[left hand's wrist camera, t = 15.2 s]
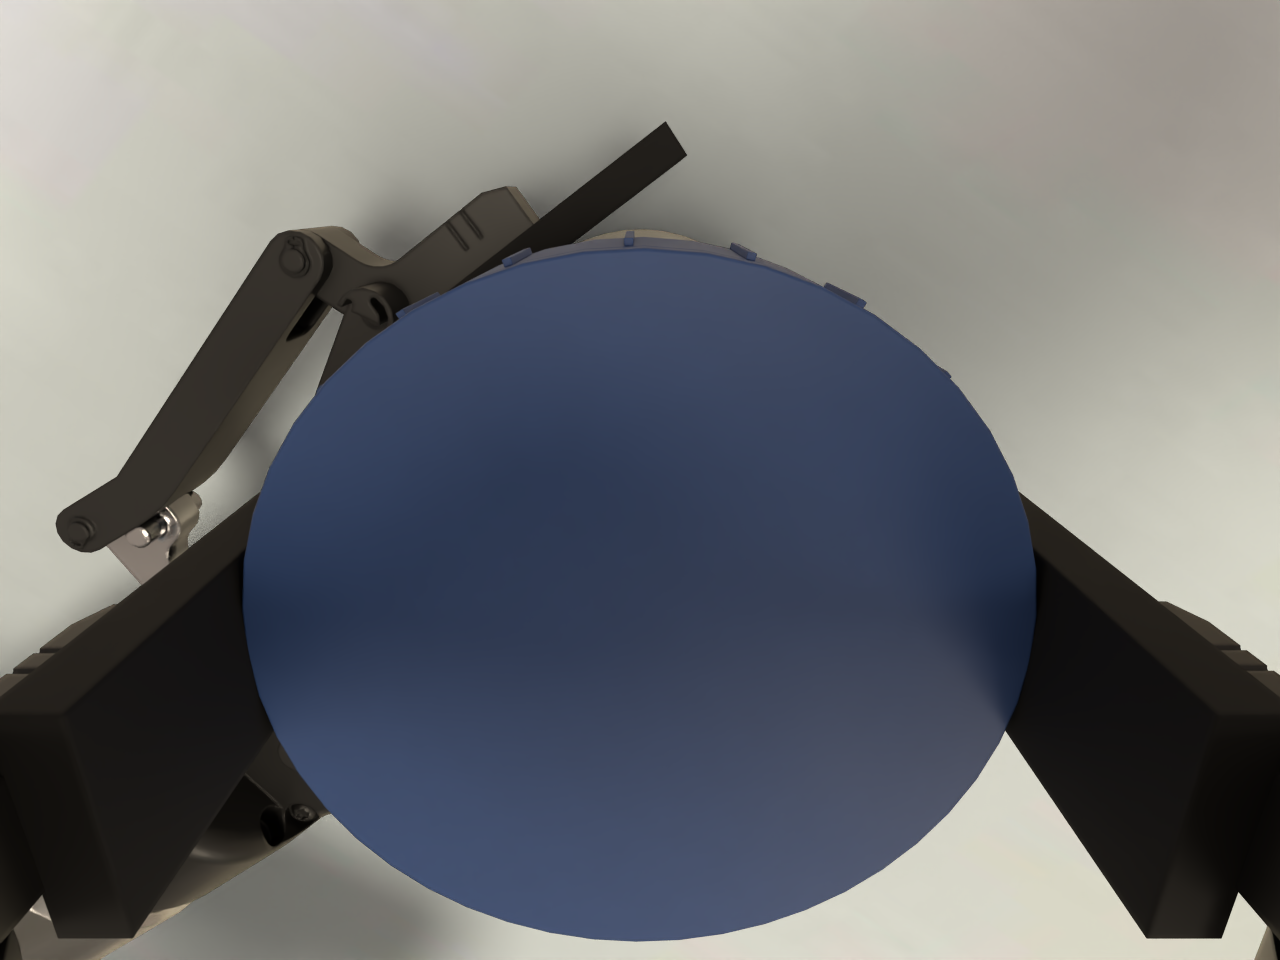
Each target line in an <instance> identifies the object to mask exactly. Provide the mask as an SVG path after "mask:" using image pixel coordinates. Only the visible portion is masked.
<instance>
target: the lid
mask: <svg viewBox="0 0 1280 960" xmlns="http://www.w3.org/2000/svg"><path fill="white" fill-rule="evenodd" d="M756 256H757V254H756V253H754V252H753V251H751V250H749V249H747V248H745V247H743V246H741V245H739V244H736V243H731V247H730V249H728V248H724V247H719V246H715V245H710V244H706V243H701V242H697V241H690V240H678V239H665V238H653V237H635V233H634V231H626V234H625V237H624V238H614V239H596V240H590V241H585V242H579V243H574V244H569V245H564V246H559V247H554V248H549V249H545V250H542V251H539V252H536V253H533V254H532V251H531V248H527V249H523V250H521V251H519V252H517V253H515V254H513V255H511V256H509V257H507V258H505V259H503V260H502V262H503V264H501V265H499V266H497V267H495V268H493V269H491V270H489V271H487V272H485V273H483V274H481V275H479V276H477V277H475V278H473V279H471V280H469V281H467V282H465V283H464V284H462V285H460V286H458V287H456V288H454V289H452V290H450V291H448V292H446V293H444V294H442V295H440V294H439V293H438V292H436V293H434V294H432V295H430V296H428V297H426V298H424V299H422V300H420V301H418V302H416V303H414V304H412V305H410V306H408V307H406V308H404V309H402V310H400V311H399V312H397V313H396V315H397V317H398V318H399V320H397V321H396V322H394V323H393V324H392V325H390V326H389V327H387V328H386V329H384V330H383V331H382V332H380V333H379V334H377V335H376V336H375V337H373V338H372V339H370V340H369V341H368V342H366V343H365V344H364V345H363V346H362V347H361V348H360V349H359V350H358V351H357V352H356V353H355V354H354V355H353V356H352V357H350V358H349V359H348V360H347V361H346V362H345V363H344V364H343V365H342V366H341V367H340V368H339V369H338V370H337V371H336V372H335V373H334V374H333V375H332V376H331V377H330V378H329V379H328V380H327V381H326V382H325V383H324V384H322V385H321V386H320V387H319V388H318V389H317V391H316V392H317V393H316V395H315V396H314V397H313V399H312V400H311V401H310V403H309V404H308V405H307V406H306V408H305V409H304V410H303V412H302V413H301V414H300V416H299V417H298V418H297V419H296V421H295V422H294V424H293V425H292V427H291V429H290V431H289V433H288V435H287V436H286V438H285V440H284V442H283V444H282V445H281V447H280V449H279V451H278V453H277V455H276V456H275V458H274V460H273V462H272V464H271V466H270V467H269V470H268V473H267V476H266V478H265V481H264V484H263V487H262V490H261V492H260V495H259V498H258V501H257V504H256V506H255V509H254V512H253V515H252V521H251V526H250V531H249V536H248V542H247V547H246V552H245V557H244V569H243V599H242V611H243V619H244V628H245V635H246V640H247V646H248V651H249V656H250V661H251V665H252V670H253V674H254V679H255V683H256V686H257V690H258V694H259V697H260V699H261V702H262V704H263V706H264V709H265V711H266V713H267V716H268V718H269V720H270V723H271V725H272V727H273V729H274V732H275V734H276V736H277V738H278V740H279V741H280V743H281V745H282V746H283V748H284V750H285V751H286V753H287V755H288V756H289V758H290V760H291V761H292V763H293V765H294V766H295V768H296V770H297V771H298V773H299V775H300V776H301V777H302V778H303V780H304V781H305V782H306V783H307V785H308V786H309V787H310V789H311V790H312V791H313V792H314V794H315V795H316V796H317V797H318V799H319V800H320V801H321V802H322V804H323V805H324V806H325V808H326V809H327V810H328V811H329V812H330V813H331V814H332V815H333V816H334V817H335V818H336V819H337V820H338V821H339V822H340V823H341V824H342V825H343V826H344V827H346V828H347V829H348V830H349V831H350V832H351V833H352V834H353V835H354V836H355V837H356V838H357V839H358V840H359V841H360V842H362V843H363V844H364V845H365V846H367V847H368V848H369V849H371V850H372V851H373V852H374V853H376V854H377V855H378V856H379V857H381V858H382V859H383V860H385V861H386V862H387V863H388V864H390V865H391V866H393V867H394V868H396V869H397V870H399V871H401V872H402V873H404V874H406V875H407V876H409V877H410V878H412V879H414V880H415V881H417V882H418V883H420V884H422V885H423V886H425V887H426V888H428V889H430V890H432V891H434V892H436V893H439V894H441V895H443V896H445V897H447V898H449V899H451V900H453V901H455V902H457V903H459V904H461V905H463V906H465V907H468V908H471V909H473V910H476V911H479V912H482V913H484V914H487V915H490V916H493V917H495V918H498V919H501V920H504V921H506V922H510V923H514V924H518V925H522V926H526V927H530V928H534V929H538V930H542V931H545V932H549V933H556V934H562V935H569V936H575V937H582V938H589V939H599V940H617V941H635V942H637V941H662V940H682V939H689V938H696V937H704V936H711V935H718V934H724V933H729V932H733V931H737V930H741V929H746V928H750V927H754V926H758V925H763V924H766V923H769V922H772V921H775V920H778V919H781V918H784V917H787V916H789V915H792V914H795V913H798V912H801V911H804V910H807V909H809V908H811V907H813V906H815V905H817V904H820V903H822V902H824V901H826V900H828V899H830V898H833V897H835V896H837V895H839V894H841V893H843V892H846V891H847V890H849V889H851V888H852V887H854V886H856V885H857V884H859V883H861V882H862V881H864V880H866V879H867V878H869V877H871V876H872V875H874V874H876V873H877V872H879V871H881V870H882V869H884V868H885V867H886V866H888V865H889V864H890V863H892V862H893V861H894V860H896V859H897V858H898V857H900V856H901V855H902V854H904V853H905V852H906V851H908V850H909V849H910V848H912V847H913V846H914V845H916V844H917V843H918V842H919V841H920V840H921V839H922V838H923V837H924V836H925V835H926V834H927V833H928V832H930V831H931V830H932V829H933V828H934V827H935V826H936V825H937V824H938V823H939V822H940V821H941V820H942V819H943V818H944V817H945V816H946V815H947V814H948V813H949V812H950V811H951V810H952V809H953V807H954V806H955V805H956V804H957V802H958V801H959V800H960V799H961V798H962V796H963V795H964V794H965V793H966V792H967V790H968V789H969V788H970V787H971V785H972V784H973V783H974V782H975V781H976V779H977V778H978V776H979V774H980V773H981V771H982V770H983V768H984V766H985V765H986V763H987V762H988V760H989V759H990V757H991V755H992V754H993V752H994V751H995V749H996V747H997V746H998V744H999V743H1000V740H1001V738H1002V736H1003V734H1004V732H1005V729H1006V727H1007V725H1008V723H1009V721H1010V718H1011V716H1012V714H1013V712H1014V710H1015V707H1016V705H1017V703H1018V700H1019V696H1020V693H1021V690H1022V686H1023V683H1024V680H1025V676H1026V672H1027V668H1028V663H1029V658H1030V653H1031V648H1032V643H1033V637H1034V630H1035V623H1036V616H1037V611H1036V565H1035V559H1034V553H1033V547H1032V541H1031V535H1030V529H1029V523H1028V519H1027V516H1026V513H1025V510H1024V507H1023V504H1022V501H1021V498H1020V495H1019V492H1018V489H1017V486H1016V483H1015V480H1014V477H1013V474H1012V472H1011V470H1010V469H1009V467H1008V465H1007V463H1006V461H1005V459H1004V457H1003V455H1002V453H1001V451H1000V449H999V447H998V445H997V443H996V441H995V439H994V437H993V436H992V434H991V432H990V430H989V428H988V427H987V426H986V424H985V423H984V422H983V420H982V419H981V417H980V416H979V415H978V413H977V412H976V411H975V409H974V408H973V407H972V405H971V404H970V402H969V401H968V400H967V398H966V397H965V396H964V394H963V393H962V391H961V390H960V389H959V387H958V386H957V385H956V384H955V383H954V382H953V381H952V380H951V379H950V378H951V375H950V374H949V373H948V372H947V371H946V370H944V369H942V368H940V367H939V366H937V365H936V364H935V363H934V362H933V361H932V360H931V359H930V358H929V357H928V356H927V355H926V354H925V353H924V352H923V351H922V350H921V349H920V348H919V347H917V346H916V345H915V344H913V343H912V342H910V341H909V340H908V339H906V338H905V337H904V336H902V335H901V334H900V333H898V332H897V331H896V330H894V329H893V328H892V327H890V326H889V325H888V324H886V323H885V322H884V321H882V320H881V319H880V318H878V317H877V316H876V315H874V314H872V313H871V312H869V311H867V310H865V309H863V308H864V306H865V305H866V302H865V301H864V300H862V299H860V298H858V297H856V296H854V295H852V294H850V293H848V292H846V291H844V290H842V289H840V288H838V287H835V286H833V285H831V284H829V283H826V284H825V286H824V287H822V286H821V285H819V284H817V283H815V282H813V281H811V280H809V279H807V278H805V277H803V276H801V275H799V274H797V273H795V272H793V271H791V270H789V269H787V268H785V267H782V266H779V265H777V264H774V263H771V262H769V261H766V260H763V259H761V258H758V257H756Z"/></svg>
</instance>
